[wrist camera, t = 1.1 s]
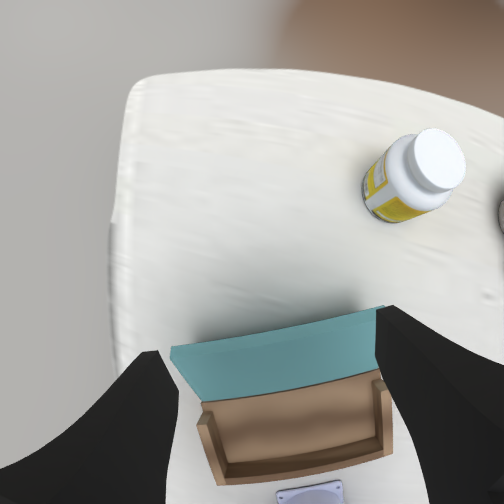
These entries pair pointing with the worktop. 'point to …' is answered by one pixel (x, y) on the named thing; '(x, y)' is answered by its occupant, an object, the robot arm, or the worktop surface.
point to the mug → (501, 215)
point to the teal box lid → (280, 357)
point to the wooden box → (298, 430)
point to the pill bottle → (414, 176)
